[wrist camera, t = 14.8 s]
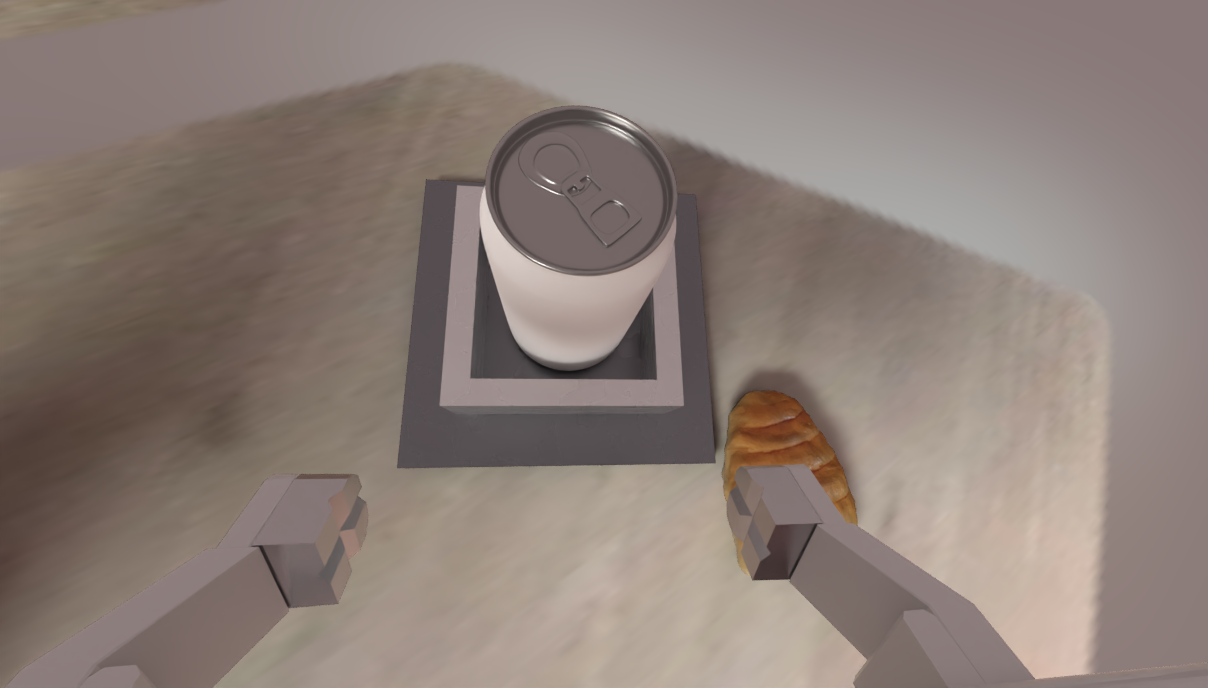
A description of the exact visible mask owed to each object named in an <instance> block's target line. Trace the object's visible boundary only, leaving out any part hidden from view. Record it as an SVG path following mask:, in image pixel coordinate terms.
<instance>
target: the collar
mask: <svg viewBox="0 0 1208 688" xmlns="http://www.w3.org/2000/svg"><path fill="white" fill-rule="evenodd" d="M484 186H485V183H480V182H463V181H445V180H427V179H426V186H425V196H424V206H423V216H422V226H421V236H420V246H419V256H418V266H417V276H416V286H415V296H414V305H413V315H412V325H411V335H410V345H409V355H408V365H407V375H406V385H405V395H404V405H403V415H402V425H401V435H400V445H399V455H398V464H397V468H440V467H504V466H568V465H633V464H697V463H716V461H715V448H714V434H713V421H712V407H711V394H710V381H709V367H708V354H707V340H706V327H705V314H704V300H703V287H702V273H701V260H700V246H699V233H698V220H697V206H696V195H691V194H678V199H677V209H676V234H675V240H674V244H673V247H672V250H671V253H670V256H669V258H668V261H667V263H666V265H665V267H664V269H663V270H662V272H661V274H660V276H659V278H658V279H657V281H656V283H655V285H654V286H653V288H652V290H651V292H650V293H649V295H648V297H647V298H646V300H645V302H644V303H643V305H642V307H641V309H640V310H639V312H638V314H637V315H636V317H635V319H634V320H633V322H632V324H631V325H630V327H629V329H628V330H627V332H626V334H625V335H624V337H623V338H622V340H621V342H620V343H619V345H618V346H617V347H616V349H615V350H614V351H613V352H612V353H611V354H610V355H609V356H608V357H607V358H605V359H604V360H603V361H601V362H599V363H598V364H596V365H594V366H591V367H588V368H585V369H581V370H575V371H563V370H556V369H552V368H549V367H546V366H544V365H541V364H539V363H538V362H536V361H534V360H533V359H532V358H530V357H529V356H528V355H527V354H526V353H525V352H524V351H523V350H522V349H521V348H520V347H519V345H518V344H517V342H516V340H515V339H514V337H513V335H512V332H511V330H510V327H509V324H508V321H507V318H506V315H505V312H504V309H503V305H502V302H501V299H500V296H499V293H498V290H497V286H496V283H495V280H494V277H493V273H492V270H491V267H490V264H489V260H488V257H487V253H486V250H485V246H484V242H483V238H482V233H481V227H480V202H481V197H482V193H483V189H484Z"/></svg>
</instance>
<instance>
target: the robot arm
mask: <svg viewBox="0 0 1208 688" xmlns="http://www.w3.org/2000/svg"><path fill="white" fill-rule="evenodd" d="M734 479H735V481H736V483H737V486H736V487H735V488H734V489H732V490H731V491H730V492H729V496H728V499H727V517H728V521H729V525H730V528H731V530H732V533H733V534H734V535H735V536H736V537H737V538H738V539H740V540H741V541H742V542H743V546H742V549H741V555H742V557H743V559H744V562H745V564H746V567H747V569H748V571H749V574H750V576H751V578H752V580H788V579H790V581H789V582H790V583H791V584H792V585H793V586H794V587H795V588H796V589H797V590H798V591H799V592H800V593H801V594H802V595H803V596H804V597H805V598H806V599H807V600H808V601H809V602H810V603H811V604H812V605H813V606H814V607H815V608H816V609H817V610H818V611H819V612H820V613H821V614H822V615H823V616H824V617H825V618H826V619H827V620H828V621H829V622H830V623H831V624H832V625H833V626H834V627H835V628H836V629H837V630H838V631H839V632H840V633H841V634H842V635H843V636H844V637H845V638H846V639H847V640H848V641H849V642H850V643H851V644H852V645H853V646H854V647H855V648H856V649H857V650H858V651H859V652H860V653H861V654H862V655H863V656H864V657H865V658H866V659H867V661H866V663H865V664H864V665H863V667H862V668H861V669H860V671H859V672H858V673H857V675H856V676H855V679H854V682H853V684H854V686H855V688H1208V662H1205V663H1196V664H1186V665H1177V666H1167V667H1157V668H1147V669H1136V670H1126V671H1116V672H1106V673H1095V674H1085V675H1075V676H1064V677H1054V678H1044V679H1035V678H1034V677H1033V676H1032V675H1031V673H1030V672H1029V671H1028V670H1027V668H1026V667H1025V666H1024V665H1023V664H1022V662H1021V661H1020V660H1019V659H1018V657H1017V656H1016V655H1015V654H1014V653H1013V651H1012V650H1011V649H1010V648H1009V646H1008V645H1007V644H1006V643H1005V642H1004V640H1003V639H1002V638H1001V637H1000V635H999V634H998V633H997V632H996V631H995V629H994V628H993V627H992V626H991V624H990V623H989V622H988V621H987V620H986V618H985V617H984V616H983V615H982V613H981V612H980V611H979V610H978V609H977V607H976V606H975V605H974V604H973V603H971V602H970V601H968V600H967V599H965V598H964V597H962V596H961V595H959V594H958V593H957V592H955V591H954V590H952V589H951V588H949V587H948V586H946V585H945V584H943V583H942V582H940V581H939V580H937V579H936V578H934V577H933V576H931V575H930V574H928V573H927V572H925V571H924V570H922V569H921V568H919V567H918V566H916V565H915V564H913V563H912V562H910V561H909V560H907V559H906V558H904V557H903V556H901V555H900V554H898V553H897V552H895V551H894V550H893V549H891V548H890V547H888V546H887V545H885V544H884V543H882V542H881V541H879V540H878V539H876V538H875V537H873V536H872V535H870V534H869V533H867V532H866V531H864V530H863V529H861V528H860V527H858V526H857V525H855V524H854V523H846V521H845V520H844V518H843V517H842V515H841V514H840V512H839V511H838V509H837V508H836V507H835V505H834V504H833V502H832V501H831V499H830V498H829V496H828V495H827V494H826V492H825V491H824V489H823V488H822V486H821V485H820V483H819V482H818V480H817V479H816V478H815V476H814V475H813V473H812V472H811V470H810V469H809V468H808V467H807V466H805V465H804V464H794V465H757V466H740V467H739V468H738V469H737V471H736V474H735V477H734ZM361 488H362V486H361V483H360V480H359V477H358V475H355V474H274V475H272V476H271V477H269V478H267V479H266V480H265V481H264V482H263V484H262V485H261V486H260V488H259V489H258V491H257V492H256V493H255V495H254V496H253V498H252V499H251V500H250V502H249V503H248V505H247V506H246V507H245V509H244V510H243V511H242V513H241V514H240V516H239V517H238V518H237V520H236V521H235V523H234V524H233V525H232V527H231V528H230V529H229V531H228V532H227V534H226V535H225V536H224V538H223V539H222V541H221V542H220V543H219V545H218V546H217V548H212V549H206V550H204V551H203V552H201V553H200V554H198V555H197V556H195V557H193V558H192V559H190V560H189V561H187V562H186V563H184V564H183V565H181V566H180V567H178V568H177V569H175V570H173V571H172V572H170V573H169V574H167V575H166V576H164V577H163V578H161V579H160V580H158V581H157V582H155V583H154V584H152V585H150V586H149V587H147V588H146V589H144V590H143V591H141V592H140V593H138V594H137V595H135V596H134V597H132V598H130V599H129V600H127V601H126V602H124V603H123V604H121V605H120V606H118V607H117V608H115V609H114V610H112V611H110V612H109V613H107V614H106V615H104V616H103V617H101V618H100V619H98V620H97V621H95V622H94V623H92V624H91V625H89V626H87V627H86V628H84V629H83V630H81V631H80V632H78V633H77V634H75V635H74V636H72V637H71V638H69V639H67V640H66V641H64V642H63V643H61V644H60V645H58V646H57V647H55V648H54V649H52V650H51V651H49V652H48V653H46V654H44V655H43V656H41V657H40V658H38V659H37V660H35V661H34V662H32V663H31V664H29V665H28V666H26V667H24V668H23V669H21V670H20V671H19V672H18V674H17V675H16V676H15V677H14V678H13V679H12V680H11V681H10V682H9V684H8V685H7V686H6V687H5V688H213V687H214V686H215V685H216V684H217V683H218V682H219V681H220V680H221V679H222V678H223V677H224V676H225V675H226V674H227V673H228V672H229V671H230V670H231V669H232V668H233V667H234V666H235V665H236V664H237V663H238V662H239V661H240V660H241V659H242V658H243V657H244V656H245V655H246V654H247V653H248V652H249V651H250V650H251V649H252V648H253V647H254V646H255V645H256V644H257V643H258V642H259V641H260V640H261V639H262V638H263V637H264V636H265V635H266V634H267V633H268V632H269V631H270V630H271V629H272V628H273V627H274V626H275V625H276V624H277V623H278V622H279V621H280V620H281V619H282V618H283V617H284V616H285V615H286V614H287V613H288V612H289V609H288V608H298V607H310V606H322V605H334V604H339V601H340V599H341V596H342V594H343V591H344V589H345V587H346V584H347V582H348V579H349V577H350V574H351V572H352V569H351V566H350V563H349V559H350V558H351V557H352V556H354V555H355V554H356V553H357V552H358V551H359V550H361V547H362V544H363V542H364V539H365V536H366V531H367V526H368V508H367V504H366V502H365V501H364V500H362V499H361V498H360V497H358V494H359V492H360V490H361Z"/></svg>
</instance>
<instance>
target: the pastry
mask: <svg viewBox="0 0 1208 688" xmlns="http://www.w3.org/2000/svg"><path fill="white" fill-rule="evenodd" d="M728 421H729V426H728V430H727V436H728V439H727V443H726V445H725V449H724V452H725V463H724V468H723V471H722V478H723V480H724V485H723V488H724V496H725V499H726V501H727V499H728V496H729V492H730V491H731V490H732V489H734V488H735V487H736V486H737V483H736V481H735V479H734V477H735V474H736V471H737V469H738V468H739V467H740V466H757V465H794V464H804V465H805V466H807V467H808V468H809V469H810V470H811V472H812V473H813V475H814V476H815V478H816V479H817V480H818V482H819V483H820V485H821V486H822V488H823V489H824V491H825V492H826V494H827V495H828V496H829V498H830V499H831V501H832V502H833V504H834V505H835V507H836V508H837V509H838V511H839V512H840V514H841V515H842V517H843V518H844V520H845V521H846V523H854V524H855V525H857V515H856V507H855V500H854V498H853V496H852V494H851V492H850V490H849V487H848V485H847V480H846V477H845V475H844V470H843V468H842V466H841V465H840V463H839V461H838V459H837V457H836V455H835V452H834V450H833V449H832V448H831V447H830V446H829V445H828V444H827V441H826V439H825V437H824V435H823V433H821V432H820V431H819V430H818V429H817V427H816V426H815V425H814V423H813V421H812V420H811V418H810V416H809V415H808V414H807V413H806V412H805V410H804V408H803V407H802V406H801V405H800V404H799V403H798V401H797V400H796V399H794V398H791V397H789V396H787V395H785V394H783V393H779V392H776V391H765V390H764V391H752V392H748V393H747V394H745V395H744V396H743V397H742V399H741V400H740V401H739V402H738V404H737V405H736V406H735V407H734V408H733V410H732V411H731V413H730V414H729V418H728ZM731 531H732V530H731ZM732 535H733V538H734V543H735V546H736V549H737V559H738V564H739V566H740V568H741V569H742V571H743V572H744V573H745V574H747V575H749V576H750V574H749V571H748V569H747V567H746V564H745V562H744V559H743V557H742V555H741V549H742V546H743V542H742V541H741V540H740V539H738V538H737V537H736V536H735V535H734V534H733V533H732Z"/></svg>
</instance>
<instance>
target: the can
mask: <svg viewBox="0 0 1208 688" xmlns="http://www.w3.org/2000/svg"><path fill="white" fill-rule="evenodd" d="M677 199H678V193H677V184H676V179H675V175H674V172H673V169H672V166H671V164H670V162H669V160H668V158H667V156H666V154H665V153H664V151H663V150H662V148H661V147H660V146H659V144H658V143H657V142H656V141H655V140H654V139H653V138H652V137H651V136H650V135H649V134H648V133H647V132H646V131H645V130H644V129H642V128H641V127H640V126H638V125H637V124H635V123H634V122H632V121H630V120H629V119H627V118H625V117H623V116H621V115H618V114H616V113H613V112H611V111H607V110H604V109H600V108H595V107H589V106H561V107H555V108H551V109H547V110H543V111H541V112H538V113H535V114H533V115H531V116H529V117H527V118H525V119H524V120H522V121H520V122H519V123H518V124H516V125H515V126H514V127H512V128H511V129H510V130H509V131H508V132H507V133H506V134H505V135H504V136H503V138H502V139H501V140H500V141H499V143H498V144H497V146H496V148H495V149H494V151H493V153H492V155H491V158H490V160H489V163H488V167H487V171H486V178H485V186H484V189H483V193H482V197H481V202H480V227H481V233H482V238H483V242H484V246H485V250H486V253H487V257H488V260H489V264H490V267H491V270H492V273H493V277H494V280H495V283H496V286H497V290H498V293H499V296H500V299H501V302H502V305H503V309H504V312H505V315H506V318H507V321H508V324H509V327H510V330H511V332H512V335H513V337H514V339H515V340H516V342H517V344H518V345H519V347H520V348H521V349H522V350H523V351H524V352H525V353H526V354H527V355H528V356H529V357H530V358H532V359H533V360H534V361H536V362H538V363H539V364H541V365H544V366H546V367H549V368H552V369H556V370H563V371H575V370H581V369H585V368H588V367H591V366H594V365H596V364H598V363H599V362H601V361H603V360H604V359H605V358H607V357H608V356H609V355H610V354H611V353H612V352H613V351H614V350H615V349H616V347H617V346H618V345H619V343H620V342H621V340H622V338H623V337H624V335H625V334H626V332H627V330H628V329H629V327H630V325H631V324H632V322H633V320H634V319H635V317H636V315H637V314H638V312H639V310H640V309H641V307H642V305H643V303H644V302H645V300H646V298H647V297H648V295H649V293H650V292H651V290H652V288H653V286H654V285H655V283H656V281H657V279H658V278H659V276H660V274H661V272H662V270H663V269H664V267H665V265H666V263H667V261H668V258H669V256H670V253H671V250H672V247H673V244H674V240H675V234H676V209H677Z"/></svg>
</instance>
